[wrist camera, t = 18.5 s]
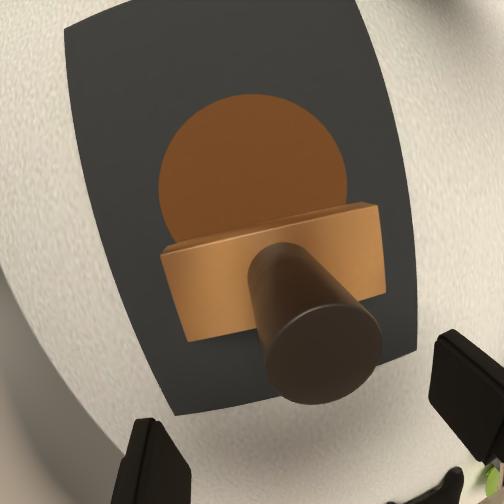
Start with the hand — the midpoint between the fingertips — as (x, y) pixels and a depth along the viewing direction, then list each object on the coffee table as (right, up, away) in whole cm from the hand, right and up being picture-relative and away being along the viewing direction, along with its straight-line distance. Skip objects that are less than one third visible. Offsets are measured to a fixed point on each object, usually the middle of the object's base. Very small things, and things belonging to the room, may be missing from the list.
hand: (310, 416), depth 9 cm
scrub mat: (-2, +8, +6) cm, 10 cm away
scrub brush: (-1, +5, +6) cm, 8 cm away
